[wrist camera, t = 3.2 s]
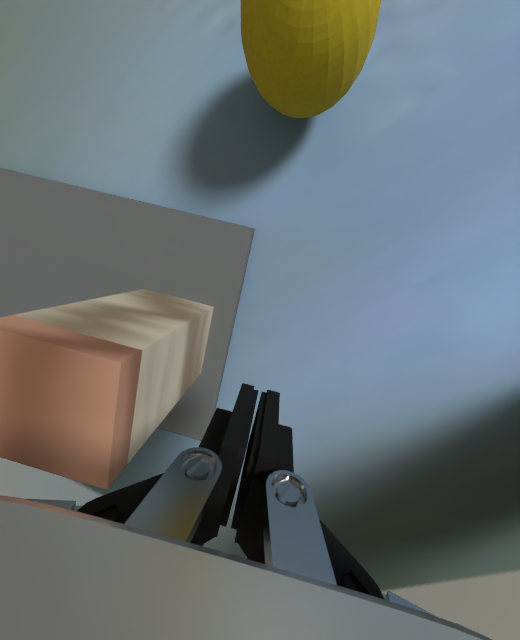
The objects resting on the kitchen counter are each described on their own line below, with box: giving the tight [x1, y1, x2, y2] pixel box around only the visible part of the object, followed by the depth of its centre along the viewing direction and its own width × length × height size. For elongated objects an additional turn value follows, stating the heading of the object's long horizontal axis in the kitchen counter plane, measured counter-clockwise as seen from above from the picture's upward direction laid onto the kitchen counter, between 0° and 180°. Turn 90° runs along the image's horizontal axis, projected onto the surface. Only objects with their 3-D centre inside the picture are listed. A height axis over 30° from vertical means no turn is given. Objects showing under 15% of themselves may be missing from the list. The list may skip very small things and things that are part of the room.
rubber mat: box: [0, 168, 255, 441], centre depth 19 cm, size 20×16×1 cm
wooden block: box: [0, 289, 214, 490], centre depth 14 cm, size 5×5×10 cm
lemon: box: [241, 0, 381, 118], centre depth 11 cm, size 6×6×8 cm
